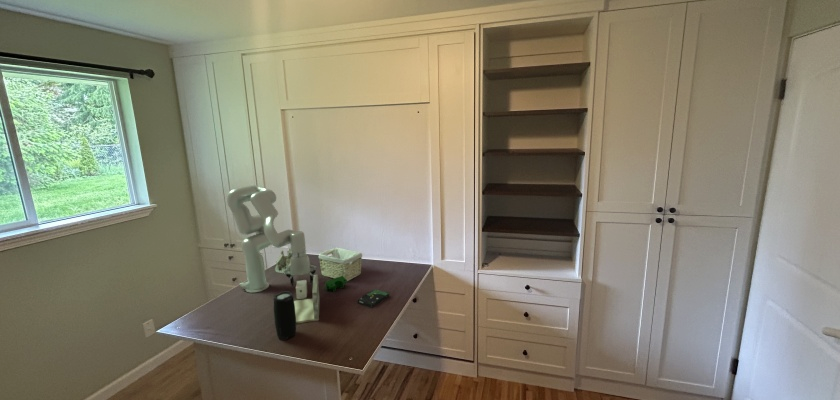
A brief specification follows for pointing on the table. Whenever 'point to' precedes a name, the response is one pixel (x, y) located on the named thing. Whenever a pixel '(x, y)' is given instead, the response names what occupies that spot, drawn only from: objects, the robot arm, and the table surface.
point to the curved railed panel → (308, 305)
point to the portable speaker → (284, 315)
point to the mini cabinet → (301, 289)
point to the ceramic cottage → (283, 262)
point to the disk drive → (373, 298)
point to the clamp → (335, 283)
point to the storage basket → (340, 263)
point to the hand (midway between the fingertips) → (302, 283)
